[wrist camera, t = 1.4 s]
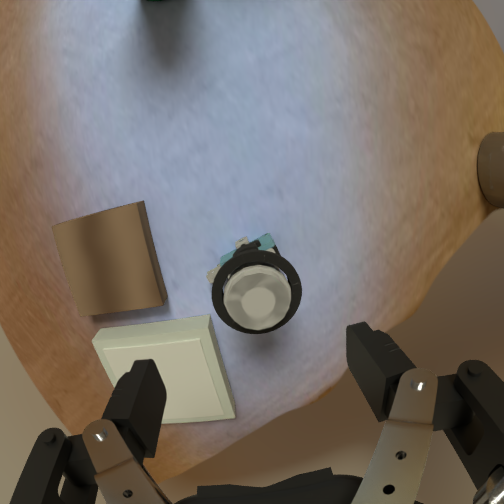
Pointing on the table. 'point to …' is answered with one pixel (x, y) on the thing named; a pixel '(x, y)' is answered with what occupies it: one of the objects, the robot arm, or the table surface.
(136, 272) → the walnut stand
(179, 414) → the cream tray
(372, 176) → the table surface
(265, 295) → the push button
